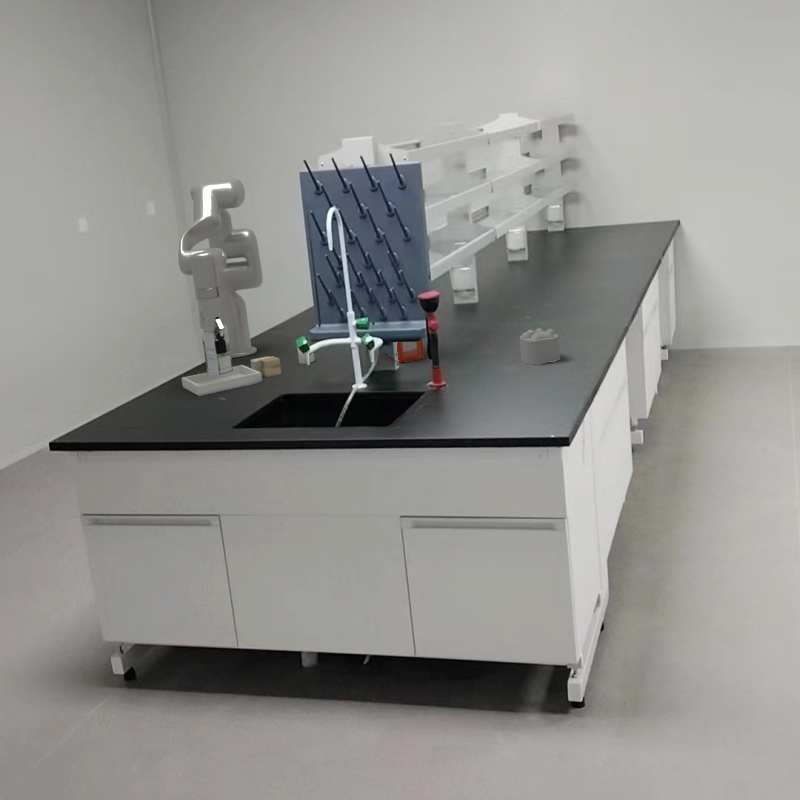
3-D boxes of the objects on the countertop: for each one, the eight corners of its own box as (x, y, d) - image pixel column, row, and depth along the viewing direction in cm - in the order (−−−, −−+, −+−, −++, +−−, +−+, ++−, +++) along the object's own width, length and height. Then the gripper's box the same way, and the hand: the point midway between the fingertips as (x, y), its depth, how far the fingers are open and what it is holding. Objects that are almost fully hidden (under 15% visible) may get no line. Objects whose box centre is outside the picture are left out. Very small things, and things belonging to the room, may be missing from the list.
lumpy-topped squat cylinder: (529, 366, 296) (527, 336, 294) (516, 357, 309) (513, 329, 306) (564, 361, 298) (562, 331, 296) (549, 352, 310) (547, 324, 308)
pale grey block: (296, 362, 334) (294, 344, 333) (311, 359, 337) (308, 341, 335) (303, 364, 330) (300, 346, 329) (317, 361, 332) (314, 343, 331)
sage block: (252, 371, 328) (250, 359, 327) (270, 368, 331) (268, 356, 330) (255, 374, 325) (253, 361, 324) (273, 370, 327) (271, 358, 326)
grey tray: (183, 387, 317) (181, 377, 316) (243, 374, 326) (242, 364, 325) (199, 396, 303) (197, 386, 302) (262, 382, 312) (261, 372, 311)
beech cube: (260, 374, 323) (258, 359, 321) (275, 371, 325) (273, 356, 324) (266, 377, 318) (264, 361, 317) (281, 374, 321) (279, 358, 319)
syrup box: (221, 370, 318) (214, 324, 314) (234, 371, 314) (227, 324, 310) (207, 374, 313) (199, 327, 310) (220, 376, 310) (212, 328, 306)
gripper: (187, 293, 313) (196, 350, 318) (205, 298, 298) (214, 358, 303) (210, 289, 316) (219, 345, 321) (230, 294, 302) (238, 353, 306)
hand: (217, 351), depth 312 cm, fingers closed on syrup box, 7 cm apart
